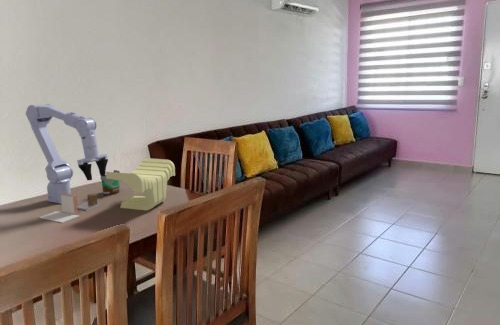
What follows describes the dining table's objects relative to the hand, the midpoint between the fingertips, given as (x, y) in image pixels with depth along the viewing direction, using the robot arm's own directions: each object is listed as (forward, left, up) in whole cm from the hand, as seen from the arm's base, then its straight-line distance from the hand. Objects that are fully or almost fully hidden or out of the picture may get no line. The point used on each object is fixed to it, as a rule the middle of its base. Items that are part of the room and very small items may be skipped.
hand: (96, 178), depth 169 cm
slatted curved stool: (+17, +10, -13) cm, 23 cm away
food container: (-8, +19, -13) cm, 24 cm away
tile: (-3, -12, -13) cm, 18 cm away
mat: (-3, -18, -13) cm, 22 cm away
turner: (-3, -3, -13) cm, 14 cm away
